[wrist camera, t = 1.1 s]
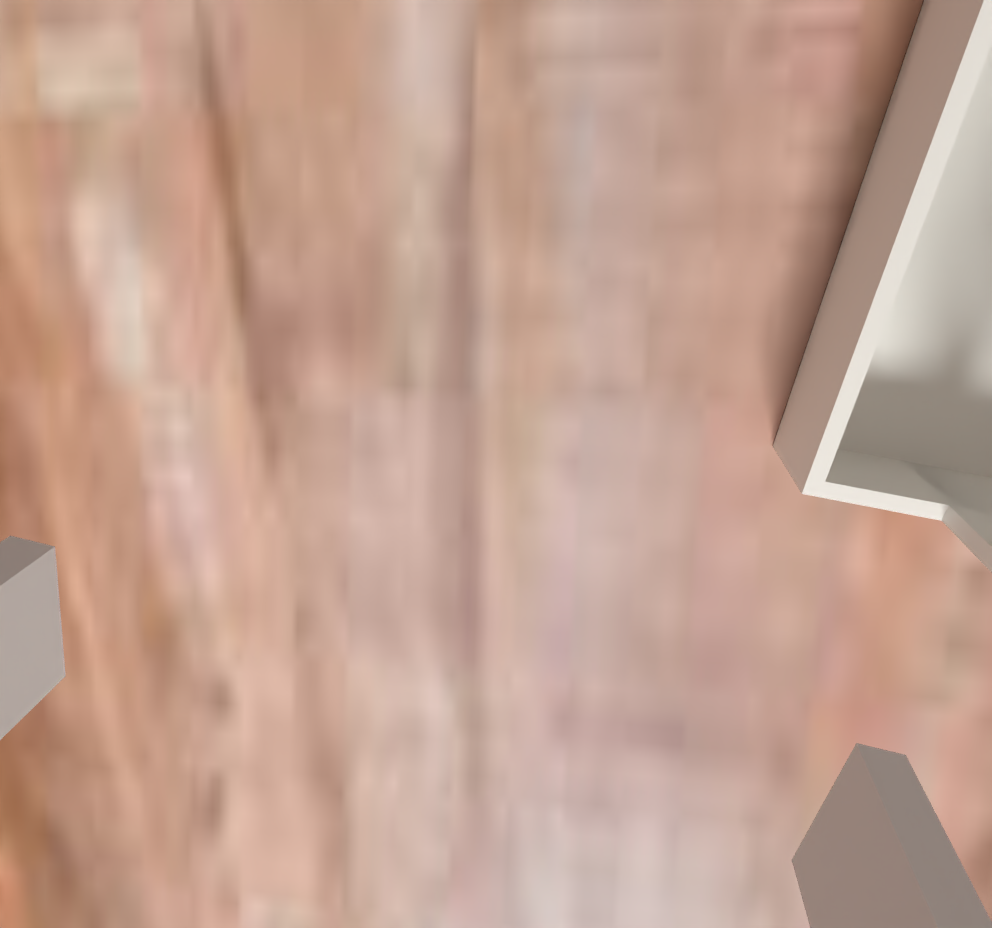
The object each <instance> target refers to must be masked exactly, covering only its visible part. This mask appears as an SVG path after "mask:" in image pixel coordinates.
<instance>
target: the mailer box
mask: <svg viewBox="0 0 992 928" xmlns="http://www.w3.org/2000/svg"><path fill="white" fill-rule="evenodd" d="M773 448H774V449H775V451H776V452H777V454H778V456H779V457H780V459H781V461H782V462H783V464H784V465H785V467H786V469H787V470H788V472H789V474H790V475H791V477H792V479H793V480H794V482H795V483H796V485H797V487H798V488H799V490H800V492H801V493H802V494H806V495H811V496H816V497H821V498H827V499H832V500H837V501H842V502H847V503H853V504H858V505H863V506H868V507H873V508H879V509H884V510H889V511H894V512H899V513H904V514H910V515H915V516H920V517H925V518H930V519H936V520H941V521H943V522H944V523H945V524H946V526H947V527H948V528H949V529H950V530H951V531H952V532H953V533H954V534H955V535H956V536H957V537H958V538H959V539H960V540H961V541H962V542H963V543H964V544H965V545H966V546H967V547H968V548H969V550H970V551H971V552H972V553H973V554H974V555H975V556H976V557H977V558H978V559H979V560H980V561H981V562H982V563H983V564H984V565H985V566H986V567H987V568H988V569H989V570H990V571H991V572H992V0H924V2H923V5H922V8H921V11H920V14H919V17H918V20H917V23H916V26H915V28H914V31H913V34H912V37H911V40H910V43H909V46H908V49H907V52H906V55H905V58H904V61H903V64H902V67H901V70H900V73H899V76H898V79H897V82H896V84H895V87H894V90H893V93H892V96H891V99H890V102H889V105H888V108H887V111H886V114H885V117H884V120H883V123H882V126H881V129H880V132H879V135H878V137H877V140H876V143H875V146H874V149H873V152H872V155H871V158H870V161H869V164H868V167H867V170H866V173H865V176H864V179H863V182H862V185H861V188H860V191H859V193H858V196H857V199H856V202H855V205H854V208H853V211H852V214H851V217H850V220H849V223H848V226H847V229H846V232H845V235H844V238H843V241H842V244H841V247H840V249H839V252H838V255H837V258H836V261H835V264H834V267H833V270H832V273H831V276H830V279H829V282H828V285H827V288H826V291H825V294H824V297H823V300H822V302H821V305H820V308H819V311H818V314H817V317H816V320H815V323H814V326H813V329H812V332H811V335H810V338H809V341H808V344H807V347H806V350H805V353H804V356H803V358H802V361H801V364H800V367H799V370H798V373H797V376H796V379H795V382H794V385H793V388H792V391H791V394H790V397H789V400H788V403H787V406H786V409H785V412H784V414H783V417H782V420H781V423H780V426H779V429H778V432H777V435H776V438H775V441H774V444H773Z"/></svg>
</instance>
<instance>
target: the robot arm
mask: <svg viewBox="0 0 992 928" xmlns="http://www.w3.org/2000/svg"><path fill="white" fill-rule="evenodd" d="M64 677H65V664H64V651H63V639H62V627H61V615H60V603H59V590H58V578H57V566H56V554H55V546H50V545H46V544H42V543H38V542H34V541H30V540H26V539H22V538H18V537H14V536H9V537H8V538H6V539H5V540H3V541H1V542H0V740H1V739H2V738H3V737H4V736H5V735H6V734H7V733H8V732H9V731H10V730H11V729H12V728H13V727H14V726H15V725H16V724H17V723H18V722H19V721H20V720H21V719H22V718H23V717H24V716H25V715H26V714H27V713H28V712H29V711H30V710H31V709H32V708H33V707H34V706H35V705H37V704H38V703H39V702H40V701H41V700H42V699H43V698H44V697H45V696H46V695H47V694H48V693H49V692H50V691H51V690H52V689H53V688H54V687H55V686H56V685H57V684H58V683H59V682H60V681H61V680H62V679H63V678H64ZM792 863H793V866H794V870H795V873H796V877H797V881H798V884H799V888H800V892H801V895H802V899H803V902H804V906H805V910H806V913H807V917H808V921H809V924H810V928H992V922H991V920H990V918H989V916H988V914H987V912H986V910H985V908H984V906H983V904H982V903H981V901H980V899H979V897H978V895H977V893H976V891H975V889H974V887H973V885H972V883H971V881H970V879H969V877H968V875H967V873H966V871H965V869H964V868H963V866H962V864H961V862H960V860H959V858H958V856H957V854H956V852H955V850H954V848H953V846H952V844H951V842H950V840H949V838H948V836H947V834H946V833H945V831H944V829H943V827H942V825H941V823H940V821H939V819H938V817H937V815H936V813H935V811H934V809H933V807H932V805H931V803H930V801H929V799H928V797H927V796H926V794H925V792H924V790H923V788H922V786H921V784H920V782H919V780H918V778H917V776H916V774H915V772H914V770H913V768H912V766H911V764H910V762H909V761H908V759H907V757H906V755H903V754H899V753H895V752H891V751H887V750H883V749H879V748H874V747H870V746H866V745H862V744H858V743H856V745H855V747H854V749H853V750H852V752H851V754H850V756H849V758H848V759H847V761H846V763H845V765H844V767H843V768H842V770H841V772H840V774H839V776H838V777H837V779H836V781H835V783H834V785H833V786H832V788H831V790H830V792H829V794H828V795H827V797H826V799H825V801H824V803H823V804H822V806H821V808H820V810H819V812H818V813H817V815H816V817H815V819H814V821H813V823H812V824H811V826H810V828H809V830H808V832H807V833H806V835H805V837H804V839H803V841H802V842H801V844H800V846H799V848H798V850H797V851H796V853H795V855H794V857H793V859H792Z"/></svg>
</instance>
